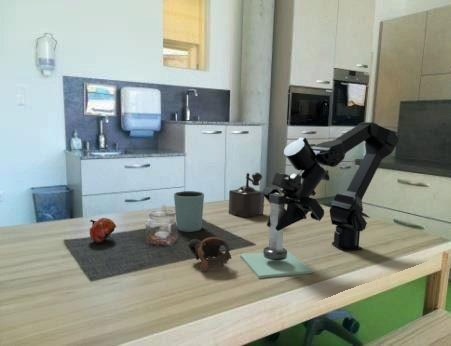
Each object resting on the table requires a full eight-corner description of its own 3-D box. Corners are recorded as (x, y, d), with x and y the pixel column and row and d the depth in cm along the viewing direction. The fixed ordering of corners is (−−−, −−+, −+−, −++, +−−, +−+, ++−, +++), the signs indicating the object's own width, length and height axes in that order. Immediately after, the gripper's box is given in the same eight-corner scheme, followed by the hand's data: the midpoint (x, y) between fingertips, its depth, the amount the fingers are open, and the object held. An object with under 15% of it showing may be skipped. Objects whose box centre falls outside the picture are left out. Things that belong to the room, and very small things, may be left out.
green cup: (207, 231, 119) (208, 195, 118) (177, 233, 116) (178, 197, 114) (198, 223, 129) (198, 190, 127) (170, 225, 125) (170, 191, 123)
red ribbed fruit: (118, 245, 110) (96, 223, 111) (128, 229, 107) (105, 207, 108) (101, 255, 103) (78, 232, 105) (112, 239, 100) (88, 215, 102)
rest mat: (287, 252, 101) (287, 250, 101) (312, 272, 88) (312, 270, 87) (240, 256, 97) (240, 254, 97) (258, 278, 84) (258, 275, 84)
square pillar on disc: (276, 250, 96) (279, 191, 94) (291, 257, 91) (295, 196, 89) (258, 254, 93) (261, 193, 91) (273, 262, 88) (276, 198, 86)
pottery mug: (235, 262, 95) (238, 241, 89) (219, 289, 88) (221, 268, 83) (195, 244, 98) (196, 223, 93) (177, 269, 91) (177, 248, 86)
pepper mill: (226, 213, 144) (227, 169, 141) (245, 209, 151) (246, 167, 149) (255, 221, 133) (257, 173, 130) (274, 217, 140) (276, 171, 138)
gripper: (268, 157, 99) (233, 201, 94) (318, 165, 83) (280, 217, 79) (288, 183, 104) (256, 225, 100) (339, 195, 88) (304, 246, 84)
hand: (272, 228), depth 90 cm, fingers closed on square pillar on disc, 3 cm apart
